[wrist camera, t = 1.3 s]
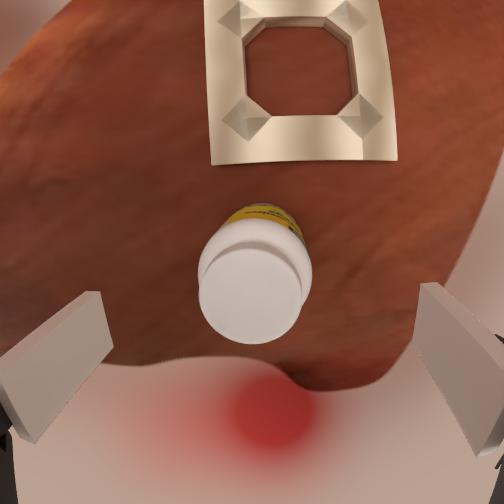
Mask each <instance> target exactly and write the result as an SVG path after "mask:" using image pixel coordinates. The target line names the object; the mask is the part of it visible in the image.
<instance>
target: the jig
mask: <svg viewBox="0 0 504 504" xmlns="http://www.w3.org/2000/svg"><path fill="white" fill-rule="evenodd" d="M204 20H205V51H206V76H207V97H208V116H209V133H210V149H211V164H212V165H226V164H240V163H257V162H277V161H306V160H384V161H397V139H396V123H395V111H394V100H393V90H392V81H391V73H390V65H389V58H388V52H387V45H386V39H385V33H384V28H383V23H382V17H381V12H380V8H379V3H378V0H204ZM268 27H323V28H325V29H326V30H327V31H328V32H330V33H331V34H332V35H334V36H335V37H336V38H337V39H338V40H340V41H341V42H342V43H343V44H345V45H346V47H347V54H348V62H349V71H350V80H351V90H352V99H351V100H350V101H349V102H348V103H347V104H346V105H345V106H344V107H343V108H342V109H341V110H340V111H339V112H338V113H337V114H336V115H306V116H274V117H272V116H271V115H270V114H268V113H267V112H266V111H265V110H264V109H262V108H261V107H260V106H259V105H258V104H256V103H255V102H254V101H253V100H251V99H250V98H249V97H248V95H247V79H246V64H245V47H246V46H247V45H248V44H249V43H250V42H251V41H252V40H253V39H254V38H255V37H256V36H257V35H258V34H259V33H260V32H261V31H262V30H263V29H264V28H268Z"/></svg>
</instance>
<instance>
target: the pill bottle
mask: <svg viewBox="0 0 504 504" xmlns="http://www.w3.org/2000/svg"><path fill="white" fill-rule="evenodd" d="M198 281H199V286H200V287H199V302H200V307H201V310H202V312H203V314H204V317H205V318H206V320H207V321H208V323H209V324H210V325H211V326H212V327H213V328H214V329H215V330H216V331H217V332H218V333H220V334H221V335H223V336H224V337H226V338H228V339H230V340H233V341H236V342H239V343H244V344H261V343H266V342H269V341H272V340H275V339H277V338H279V337H280V336H282V335H283V334H285V333H286V332H287V331H288V330H289V329H290V328H291V327H292V326H293V324H294V323H295V321H296V320H297V318H298V316H299V313H300V311H301V307H302V305H303V304H304V302H305V300H306V299H307V296H308V294H309V291H310V288H311V283H312V266H311V260H310V257H309V253H308V250H307V247H306V244H305V241H304V238H303V236H302V232H301V230H300V228H299V226H298V224H297V222H296V221H295V220H294V218H293V217H292V216H291V215H290V214H289V213H288V212H286V211H285V210H283V209H282V208H280V207H278V206H275V205H272V204H267V203H256V204H251V205H248V206H245V207H243V208H241V209H239V210H238V211H236V212H235V213H234V214H233V215H232V216H231V217H230V218H229V219H228V220H227V221H226V222H225V223H224V224H223V225H222V226H221V227H220V229H219V230H218V231H217V232H216V233H215V234H214V235H213V236H212V237H211V238H210V240H209V241H208V243H207V244H206V246H205V248H204V250H203V252H202V254H201V257H200V261H199V265H198Z"/></svg>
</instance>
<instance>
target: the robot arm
mask: <svg viewBox="0 0 504 504" xmlns="http://www.w3.org/2000/svg"><path fill="white" fill-rule="evenodd" d="M412 345H413V347H414V349H415V350H416V352H417V353H418V355H419V357H420V358H421V360H422V361H423V363H424V365H425V366H426V368H427V370H428V371H429V373H430V375H431V376H432V378H433V380H434V381H435V383H436V385H437V386H438V388H439V390H440V392H441V393H442V395H443V397H444V398H445V400H446V402H447V404H448V405H449V407H450V409H451V411H452V413H453V414H454V416H455V418H456V420H457V422H458V423H459V425H460V427H461V429H462V431H463V433H464V435H465V436H466V438H467V440H468V442H469V444H470V446H471V448H472V450H473V452H474V454H475V456H476V457H477V458H478V457H481V456H483V455H486V454H489V453H491V452H494V451H497V449H498V447H499V446H500V444H501V442H502V441H503V439H504V338H502V337H501V336H499V335H497V334H495V335H494V334H493V333H492V332H491V331H490V330H489V329H488V328H487V327H485V325H483V324H482V323H481V322H480V321H479V320H478V319H477V318H476V317H475V316H474V315H473V314H472V313H471V312H470V311H469V310H467V309H466V308H465V307H464V306H463V305H462V304H461V303H460V302H459V301H458V300H456V299H455V298H454V297H453V296H452V295H451V294H450V293H449V292H448V291H446V290H445V289H444V288H443V287H442V286H441V285H440V284H438V283H437V282H435V283H421V286H420V294H419V301H418V308H417V315H416V321H415V328H414V333H413V339H412ZM113 347H114V346H113V343H112V339H111V335H110V331H109V328H108V324H107V320H106V316H105V312H104V307H103V303H102V299H101V294H100V291H85V292H84V293H83V294H81V295H80V296H79V297H77V298H76V299H75V300H73V301H72V302H71V303H69V304H68V305H67V306H65V307H64V308H63V309H61V310H60V311H59V312H57V313H56V314H55V315H53V316H52V317H51V318H49V319H48V320H47V321H46V322H44V323H43V324H42V325H40V326H39V327H38V328H37V329H35V330H34V331H33V332H31V333H30V334H29V335H28V336H26V337H25V338H24V339H23V340H21V341H20V342H19V343H18V344H16V345H15V346H14V347H13V348H11V349H10V350H9V351H8V352H7V353H5V354H4V355H3V356H2V357H0V504H18V498H17V491H16V483H15V474H14V462H13V446H12V436H11V434H10V432H9V431H8V429H9V428H10V427H11V426H12V425H13V427H14V428H15V430H16V432H17V433H18V435H19V437H20V438H22V439H24V440H27V441H29V442H31V443H34V444H36V442H37V441H38V440H39V438H40V437H41V436H42V435H43V433H44V432H45V430H46V429H47V428H48V427H49V426H50V424H51V423H52V422H53V421H54V419H55V418H56V417H57V415H58V414H59V413H60V412H61V410H62V409H63V408H64V407H65V405H66V404H67V403H68V402H69V400H70V399H71V398H72V397H73V395H74V394H75V393H76V392H77V390H78V389H79V388H80V387H81V386H82V384H83V383H84V382H85V380H87V378H88V377H89V376H90V375H91V373H92V372H93V371H94V370H95V369H96V367H97V366H98V365H99V364H100V363H101V361H102V360H103V359H104V358H105V357H106V355H107V354H108V353H109V352H110V351H111V350H112V348H113ZM501 464H502V465H501ZM500 465H501V468H500V472H499V475H498V478H497V481H496V485H495V488H494V490H493V493H492V496H491V499H490V502H489V504H504V454H503V456H502V457H501V459H500V460H499V462H498V463H497V465H496V467H495V469H498V468H499V466H500Z"/></svg>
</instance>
